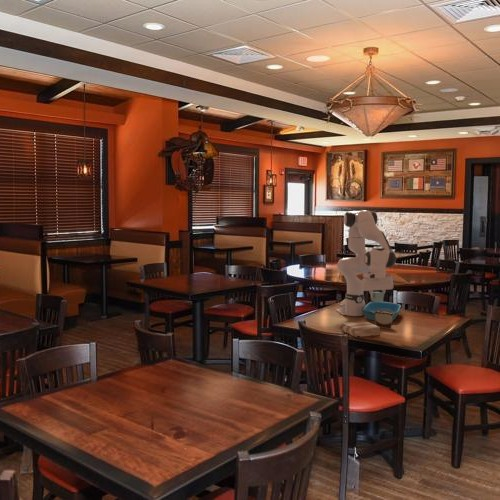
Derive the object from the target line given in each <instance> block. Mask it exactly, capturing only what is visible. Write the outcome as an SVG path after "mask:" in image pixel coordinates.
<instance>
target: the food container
mask: <svg viewBox="0 0 500 500" xmlns="http://www.w3.org/2000/svg"><path fill="white" fill-rule="evenodd" d="M374 314H375V319H376V321H375V325H376V326H378V327H380V329H381V328H382V329H392V326H393V321H394V320H393V316H394V313H393V312H392V311H389V310H376V311H375V312H374ZM392 320H393V321H392Z"/></svg>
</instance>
